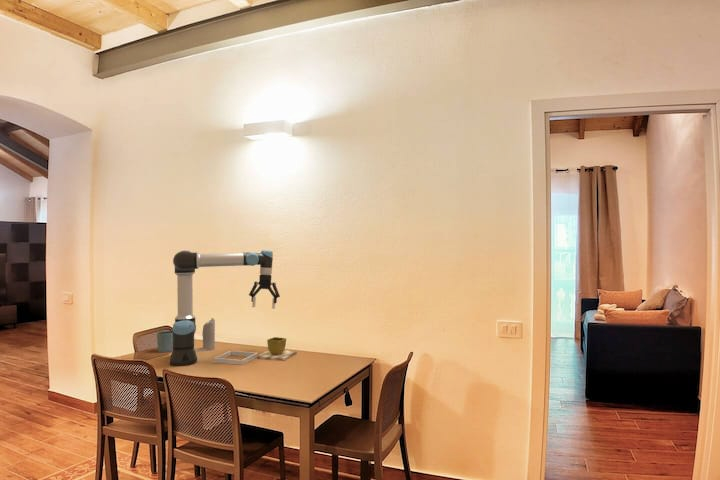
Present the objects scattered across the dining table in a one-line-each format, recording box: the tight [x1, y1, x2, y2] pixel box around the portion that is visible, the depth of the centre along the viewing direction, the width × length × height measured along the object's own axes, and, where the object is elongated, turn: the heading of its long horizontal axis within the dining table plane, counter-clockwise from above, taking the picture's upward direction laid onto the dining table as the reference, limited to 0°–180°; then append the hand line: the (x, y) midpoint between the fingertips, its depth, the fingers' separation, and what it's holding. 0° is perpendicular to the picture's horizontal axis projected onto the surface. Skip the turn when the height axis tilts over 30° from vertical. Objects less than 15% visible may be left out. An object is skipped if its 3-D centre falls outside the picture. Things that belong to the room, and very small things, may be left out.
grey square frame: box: [212, 350, 259, 366], centre depth 264 cm, size 19×19×2 cm
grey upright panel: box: [194, 317, 216, 352], centre depth 289 cm, size 7×14×20 cm, turn 107°
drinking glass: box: [156, 330, 173, 353], centre depth 286 cm, size 10×10×12 cm
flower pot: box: [266, 336, 287, 355], centre depth 272 cm, size 9×9×9 cm
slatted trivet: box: [256, 349, 298, 361], centre depth 272 cm, size 18×18×2 cm
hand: (263, 307), depth 282 cm, fingers open, 13 cm apart
